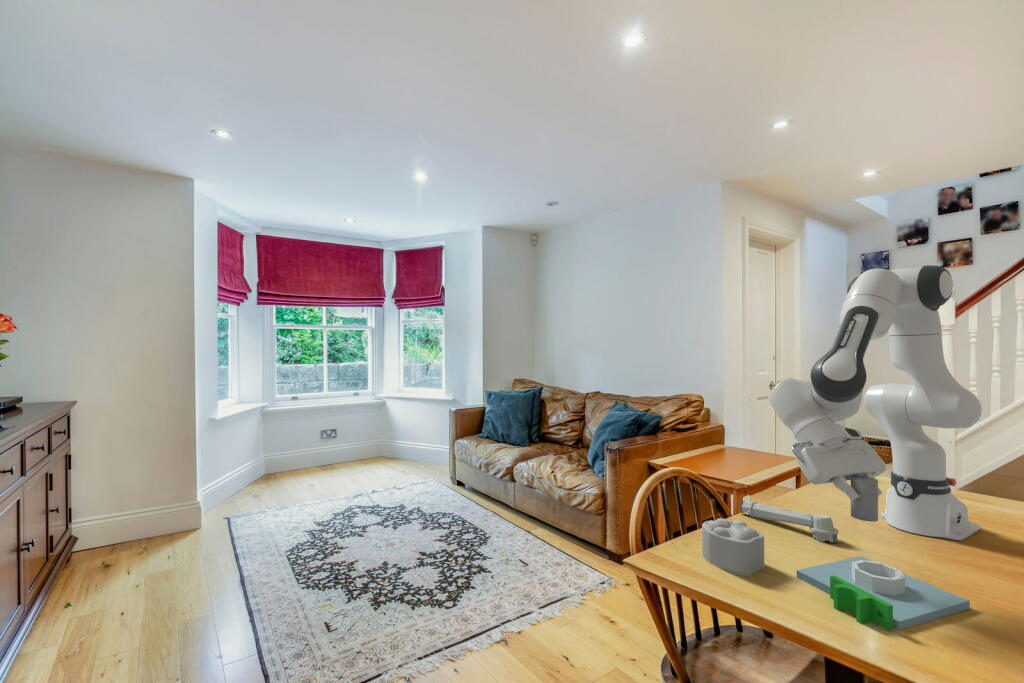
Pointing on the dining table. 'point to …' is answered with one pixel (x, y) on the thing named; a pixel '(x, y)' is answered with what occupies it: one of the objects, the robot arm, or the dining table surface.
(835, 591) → the pipe clamp
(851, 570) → the duct base
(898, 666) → the dining table surface
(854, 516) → the gray domed peg
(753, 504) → the angled head handheld tool
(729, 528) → the lumpy-topped squat cylinder
